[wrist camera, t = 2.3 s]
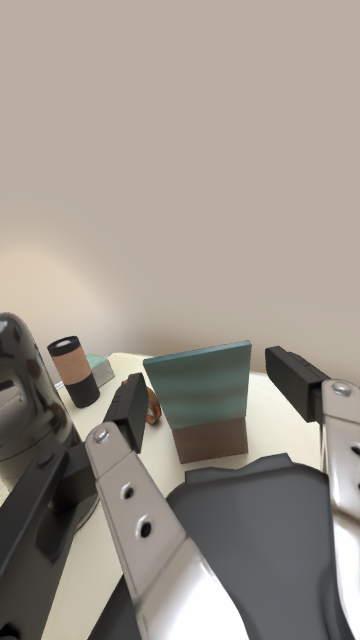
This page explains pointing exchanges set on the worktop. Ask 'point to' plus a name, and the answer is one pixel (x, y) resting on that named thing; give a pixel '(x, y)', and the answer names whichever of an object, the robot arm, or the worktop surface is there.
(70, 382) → the travel mug
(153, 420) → the tin
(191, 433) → the chest
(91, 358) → the box
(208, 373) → the lid
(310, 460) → the worktop surface
